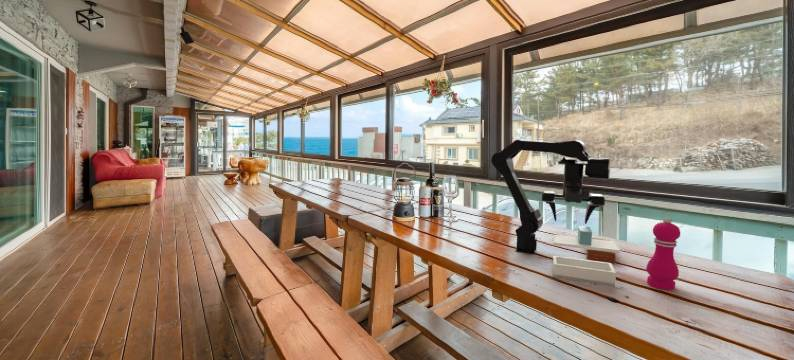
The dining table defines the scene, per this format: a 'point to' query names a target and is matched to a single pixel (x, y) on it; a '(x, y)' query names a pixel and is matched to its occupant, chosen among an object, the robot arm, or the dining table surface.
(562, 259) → the box base
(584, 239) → the lid
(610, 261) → the carton
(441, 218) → the dining table surface
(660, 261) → the pepper mill
